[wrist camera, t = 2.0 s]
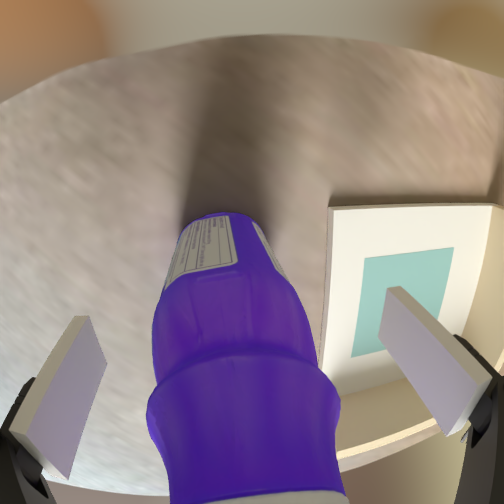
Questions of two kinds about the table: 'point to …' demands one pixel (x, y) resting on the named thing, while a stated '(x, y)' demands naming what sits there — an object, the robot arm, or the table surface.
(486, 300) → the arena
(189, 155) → the table surface
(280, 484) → the bottle
